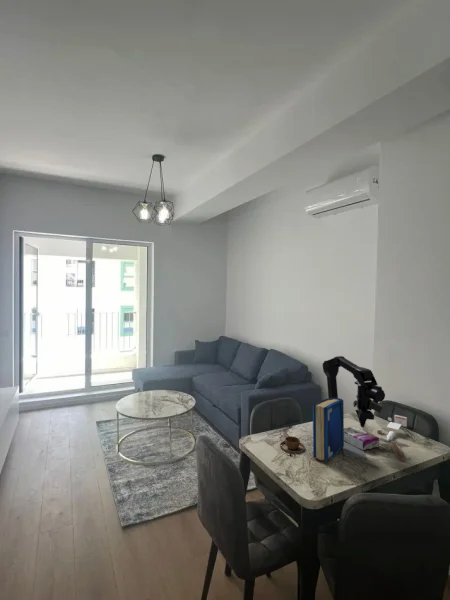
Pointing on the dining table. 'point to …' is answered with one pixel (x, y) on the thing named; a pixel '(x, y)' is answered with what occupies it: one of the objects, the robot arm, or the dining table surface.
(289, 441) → the brown cup and saucer
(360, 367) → the robot arm
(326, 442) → the book
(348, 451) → the mat
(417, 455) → the dining table surface
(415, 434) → the dining table surface
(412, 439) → the dining table surface
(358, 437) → the candy bar box
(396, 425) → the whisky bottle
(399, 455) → the back rail
